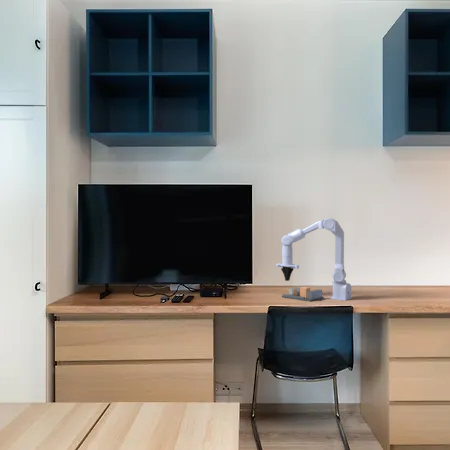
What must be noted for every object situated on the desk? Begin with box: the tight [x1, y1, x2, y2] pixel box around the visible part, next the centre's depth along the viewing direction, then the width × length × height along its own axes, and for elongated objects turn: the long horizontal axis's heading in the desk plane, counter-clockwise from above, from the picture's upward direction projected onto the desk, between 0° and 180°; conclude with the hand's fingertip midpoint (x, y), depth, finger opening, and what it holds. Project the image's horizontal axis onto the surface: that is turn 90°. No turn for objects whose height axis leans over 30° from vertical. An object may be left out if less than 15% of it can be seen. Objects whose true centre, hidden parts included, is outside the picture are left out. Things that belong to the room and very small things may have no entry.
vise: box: [281, 288, 325, 302], centre depth 238 cm, size 18×13×5 cm
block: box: [300, 286, 311, 298], centre depth 237 cm, size 4×4×5 cm
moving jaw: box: [288, 286, 302, 296], centre depth 241 cm, size 3×10×4 cm, turn 134°
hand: (287, 280), depth 245 cm, fingers closed
